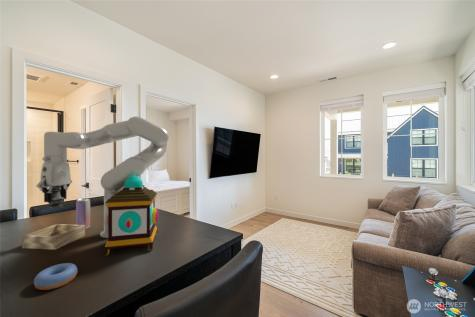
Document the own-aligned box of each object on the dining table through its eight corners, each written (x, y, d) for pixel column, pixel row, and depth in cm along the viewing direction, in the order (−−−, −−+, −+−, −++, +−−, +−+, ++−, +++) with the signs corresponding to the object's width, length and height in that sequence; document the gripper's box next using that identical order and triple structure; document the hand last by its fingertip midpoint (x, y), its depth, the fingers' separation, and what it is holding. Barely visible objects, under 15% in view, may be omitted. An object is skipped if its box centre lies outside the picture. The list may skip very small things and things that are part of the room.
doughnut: (28, 297, 55) (31, 279, 55) (36, 280, 63) (38, 264, 63) (75, 287, 60) (77, 271, 61) (77, 272, 68) (79, 258, 69)
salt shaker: (53, 208, 86) (53, 180, 86) (42, 207, 87) (42, 180, 87) (67, 205, 92) (67, 179, 92) (57, 204, 93) (57, 178, 93)
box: (84, 235, 97) (84, 225, 97) (55, 249, 82) (55, 237, 82) (56, 234, 98) (56, 224, 98) (22, 248, 83) (22, 236, 83)
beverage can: (78, 230, 103) (78, 201, 103) (74, 227, 106) (74, 199, 106) (92, 227, 108) (91, 199, 107) (88, 224, 111) (88, 197, 111)
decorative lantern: (98, 258, 75) (98, 178, 75) (115, 237, 94) (115, 173, 94) (155, 252, 81) (155, 177, 80) (160, 233, 100) (160, 173, 99)
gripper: (43, 160, 81) (43, 205, 81) (80, 159, 98) (80, 196, 98) (26, 160, 81) (26, 204, 81) (65, 159, 98) (65, 196, 99)
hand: (55, 200), depth 90 cm, fingers closed on salt shaker, 5 cm apart
